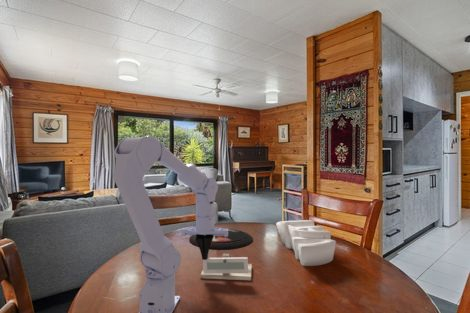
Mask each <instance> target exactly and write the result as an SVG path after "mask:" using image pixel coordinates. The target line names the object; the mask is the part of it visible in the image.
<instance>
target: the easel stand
mask: <svg viewBox="0 0 470 313" xmlns="http://www.w3.org/2000/svg"><path fill="white" fill-rule="evenodd" d="M228 257H230V253H222V258H228ZM252 264H253V263H248V273H209V274H204V273H203V270H201V273H200V279H207V280H208V279H209V280H210V279H211V280H213V279H214V280H233V281H235V280H236V281H252V268H253V265H252Z"/></svg>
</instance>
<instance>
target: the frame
mask: <svg viewBox="0 0 470 313" xmlns="http://www.w3.org/2000/svg"><path fill="white" fill-rule="evenodd" d="M248 260H249V258H248V256H246V257H245V256H241V257H240V256H239V257H237V256H236V257H235V256H234V257H232V256H231V257H230V256H229V257H228V258H223V257H208V258H207V260H202V268H203V269H202V271H203V273H204V274H209V273H248V264H249V261H248Z"/></svg>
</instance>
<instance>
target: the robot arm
mask: <svg viewBox="0 0 470 313" xmlns="http://www.w3.org/2000/svg"><path fill="white" fill-rule="evenodd" d="M113 154H114V157H115V165H114V168H115V169H114V177H113V178H114V183H115V185H116V187H117V189H118V192H119V194H120V196H121V198H122V201H123V204H124V205H125V207H126V210H127V212H128V215H129V217H130V220H131V221H132V224H133V227H134V228H135V231H136V232H137V236H138V237H139V240H140V243H139V245H138V250H139V261H140V263H141V265H142V266H143V267H144V272H145V280H144V284H143V285H142V286H141V289H140V291H139V294H138V296H139V297H138V298H139V299H138V300H139V306H138V307H139V308H138V309H139V312H138V313H174V312H173V311H174V310H175V308H176V307H177V305H178V303H179V300H180V299H181V296H180V295H176V289H175V288H176V276H175V274H176V273H177V271H178V269H180V268H179V267H180V266H181V262H182V256H181V252H180V251H179V250H178V249H177V248H176V247H175V246H174V244H173V242H172V241H171V240H170V239H169V238H168V237H167V236H166V235H165V234H164V232H163V229H162V227H161V224H160V221H159V218H158V217H157V213H156V211H155V209H154V206H153V204H152V202H151V199H150V196H149V193H148V192H147V191H148V190H147V189H146V186H145V184H144V182H143V179H144V177H145V175H146V174H147V173H148V171H150V169H151V168H152V167H154V165H155V163H158V164H160V165H161V166H164V167H165V168H167V169H168V170H170V171H172V172H174V173H175V174H177V178H178V180H179V182H181V183H183V184H184V185H185V186H187V187H189V188H190V189H191V192H192V193H193V194H195V226H193V227H183V228H181V237H182V236H192V235H196V238H195V241H196V243H197V244H198V246H199V247H198V246H197V247H198V248H199V250H200V254H201V259H202V261H203V260H207V258H209V251H210V249H209V248H210V245H211V242H212V240H213V237H214V236H224V237H228V229H223V228H224V227H216V226H215V201H216V197H217V196H216V195H217V192H218V190H219V185H218V183H217V181H216V180H215V178H213V177H210V176H209V177H208V175H207V174H206V173H205V172H202V170H200V169H198V168H197V165H196V164H194V163H187V164H185V163H184V162H183V161H182V160H181V159H180V158H178V157H177V156H176V155H175V154H174V153H172V152H171V151H170V150H169V148H167V147H166V145H165V143H164V142H162V141H160V140H158V138H156V137H155V136H153V135H145V136H138V137H125V138H122V139H121V140H120V141H119V142H118V143H117V146H116V147H115V149H114V151H113Z"/></svg>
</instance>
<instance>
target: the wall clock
mask: <svg viewBox="0 0 470 313" xmlns="http://www.w3.org/2000/svg"><path fill="white" fill-rule="evenodd" d="M222 228H223V229H228V237H224V236H214V237H213V240H212V242H211V245H210V248H209V250H219V251H220V250H234V249H241V248H243V247H246V246H249V245H250V244H251V243H252V242H253V240H254V238H253V236H252V235H250V234H249V233H248V232H245V231H242V230H239V229H237V228H236V229H235V228H229V227H222ZM195 238H196V235H190V237H189V239H188V241H189V242H190V244H192V245H193V246H195V247H198V248H199V246H198V244H197V243H196V241H195Z"/></svg>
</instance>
